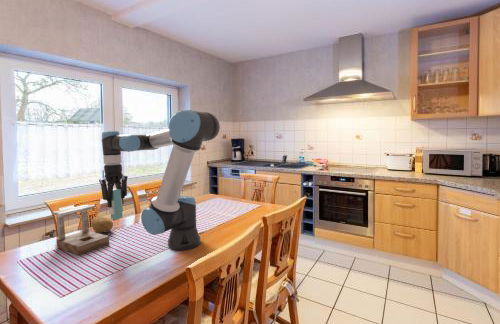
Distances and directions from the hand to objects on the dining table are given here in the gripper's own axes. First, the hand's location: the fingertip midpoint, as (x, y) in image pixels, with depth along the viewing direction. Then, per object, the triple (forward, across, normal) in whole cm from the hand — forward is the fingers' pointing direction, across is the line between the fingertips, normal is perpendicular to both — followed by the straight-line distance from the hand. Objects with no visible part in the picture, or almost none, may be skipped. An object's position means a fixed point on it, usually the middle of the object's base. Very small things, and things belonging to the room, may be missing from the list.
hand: (116, 212), depth 131 cm
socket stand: (+15, +10, -12) cm, 21 cm away
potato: (+15, -6, -22) cm, 27 cm away
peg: (+3, 0, 0) cm, 3 cm away
